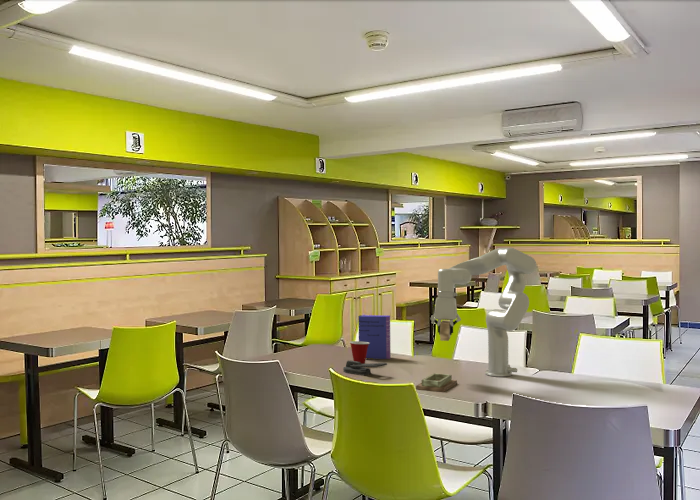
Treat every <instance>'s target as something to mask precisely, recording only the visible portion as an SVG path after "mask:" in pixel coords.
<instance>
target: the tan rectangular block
mask: <svg viewBox="0 0 700 500" xmlns="http://www.w3.org/2000/svg"><path fill="white" fill-rule="evenodd" d="M450 325H451V323H450V320H441V323H440V335H439V337H440V339H439V341H442V342H443V341H446V342H449V341H450V338H451V335H450Z"/></svg>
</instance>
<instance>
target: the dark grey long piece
mask: <svg viewBox="0 0 700 500" xmlns="http://www.w3.org/2000/svg"><path fill="white" fill-rule="evenodd" d="M387 365H388V363H387V362H380V363H379V362H377V363H374V362H373V363H365V364H361V362H357V361H354V360H347V361H346V363H345V366H344V367H343V373H345V374H351V375H357V376H366V375H367V376H368V375H370V374H371V370H372V369H371V368H378V367H379V368H380V367H385V366H387Z"/></svg>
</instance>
